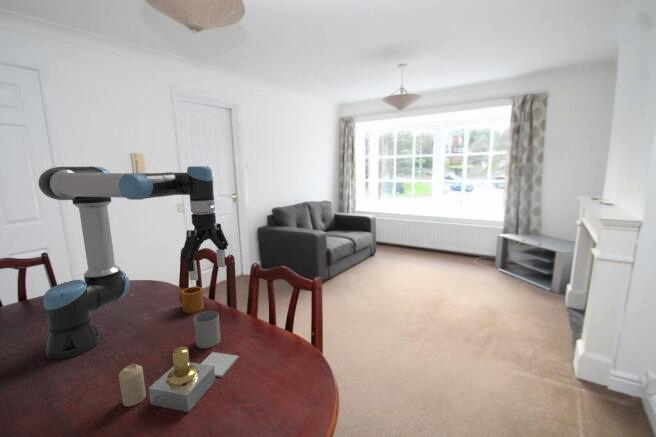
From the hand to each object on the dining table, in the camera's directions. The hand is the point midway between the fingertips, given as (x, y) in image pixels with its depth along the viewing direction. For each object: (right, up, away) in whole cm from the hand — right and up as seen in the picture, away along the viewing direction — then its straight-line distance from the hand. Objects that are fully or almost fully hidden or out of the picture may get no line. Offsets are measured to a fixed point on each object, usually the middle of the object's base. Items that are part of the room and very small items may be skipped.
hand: (208, 273), depth 105 cm
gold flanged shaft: (0, -31, -18) cm, 36 cm away
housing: (0, -31, -18) cm, 36 cm away
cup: (-3, -27, +7) cm, 28 cm away
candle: (-12, -32, -21) cm, 40 cm away
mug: (-22, -23, +35) cm, 47 cm away
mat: (+5, -29, -6) cm, 30 cm away
